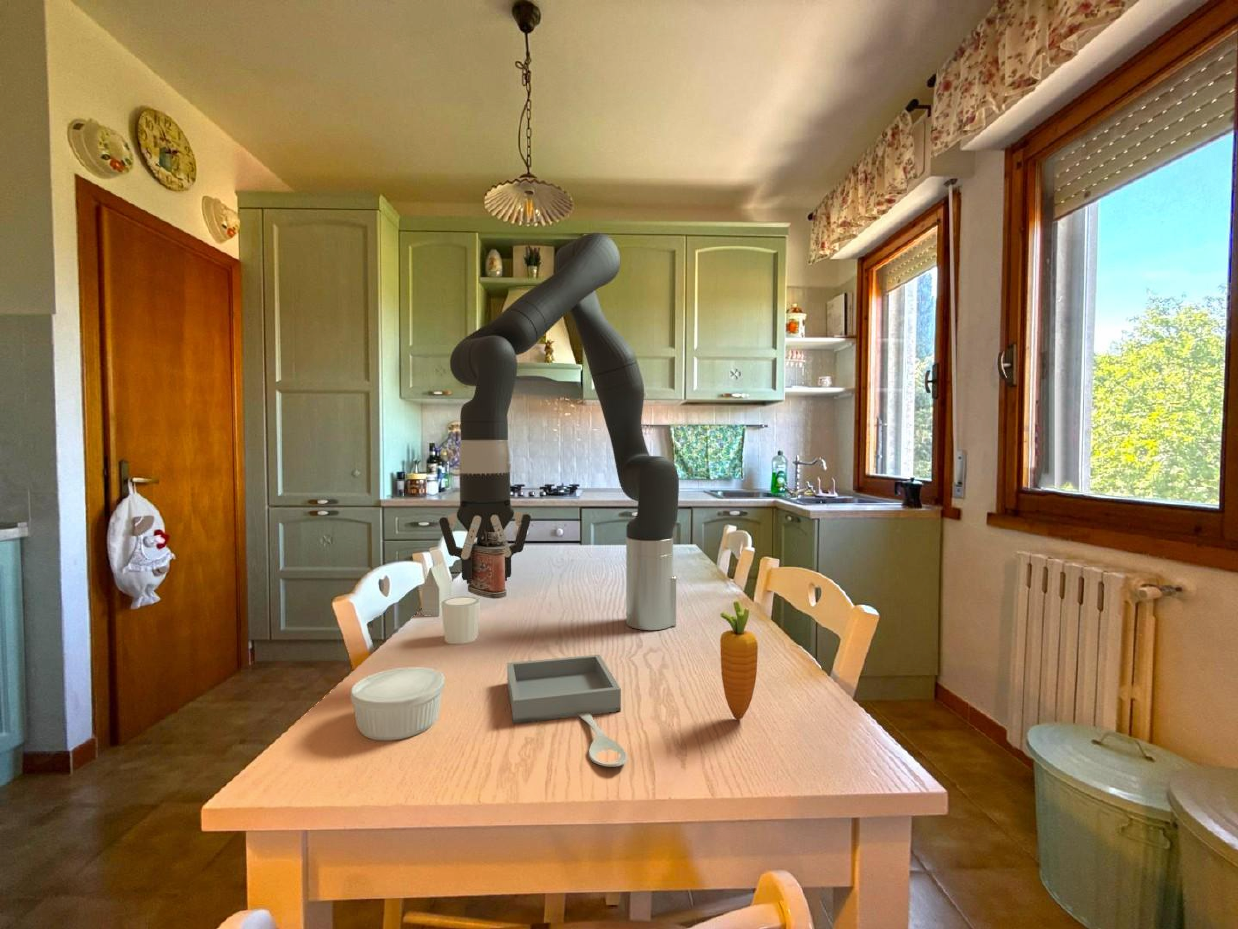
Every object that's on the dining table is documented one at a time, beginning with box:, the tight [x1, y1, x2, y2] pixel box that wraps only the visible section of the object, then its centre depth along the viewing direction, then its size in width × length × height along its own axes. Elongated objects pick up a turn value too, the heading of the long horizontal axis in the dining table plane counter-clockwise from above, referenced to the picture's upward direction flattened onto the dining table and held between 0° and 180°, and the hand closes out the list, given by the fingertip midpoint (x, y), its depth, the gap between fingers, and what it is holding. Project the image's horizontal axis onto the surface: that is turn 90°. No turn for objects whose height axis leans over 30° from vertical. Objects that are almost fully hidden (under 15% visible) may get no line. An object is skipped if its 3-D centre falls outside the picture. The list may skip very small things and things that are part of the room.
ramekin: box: [350, 666, 446, 742], centre depth 72 cm, size 11×11×5 cm
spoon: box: [578, 713, 628, 767], centre depth 71 cm, size 4×21×2 cm, turn 18°
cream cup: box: [441, 596, 481, 645], centre depth 104 cm, size 7×7×7 cm
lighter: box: [467, 530, 507, 600], centre depth 87 cm, size 8×3×10 cm, turn 47°
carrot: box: [719, 601, 759, 721], centre depth 73 cm, size 5×5×15 cm
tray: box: [506, 654, 622, 725], centre depth 80 cm, size 14×13×3 cm
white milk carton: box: [421, 561, 453, 617], centre depth 121 cm, size 4×7×10 cm, turn 175°
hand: (486, 581), depth 87 cm, fingers closed on lighter, 4 cm apart
